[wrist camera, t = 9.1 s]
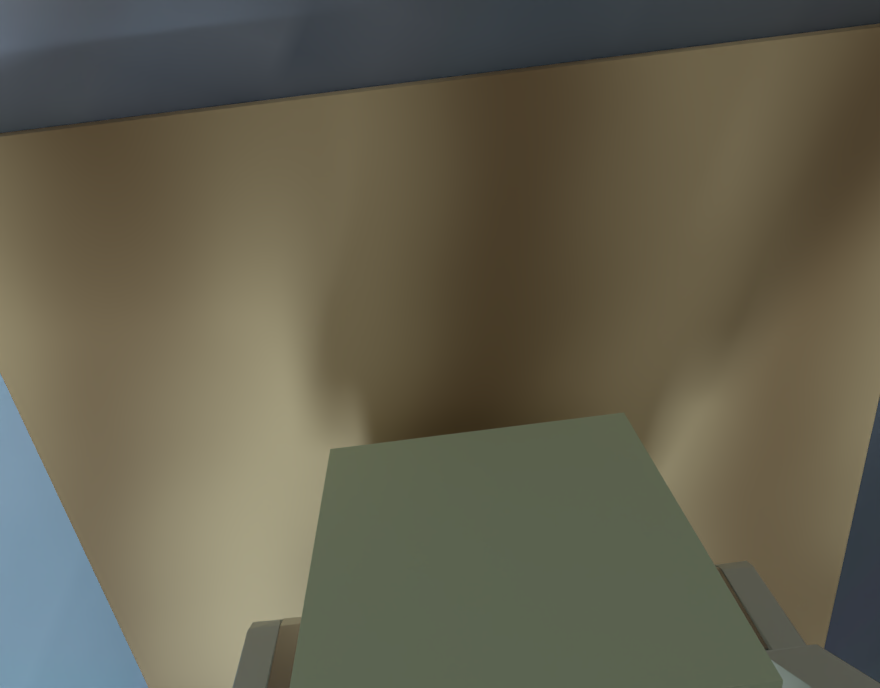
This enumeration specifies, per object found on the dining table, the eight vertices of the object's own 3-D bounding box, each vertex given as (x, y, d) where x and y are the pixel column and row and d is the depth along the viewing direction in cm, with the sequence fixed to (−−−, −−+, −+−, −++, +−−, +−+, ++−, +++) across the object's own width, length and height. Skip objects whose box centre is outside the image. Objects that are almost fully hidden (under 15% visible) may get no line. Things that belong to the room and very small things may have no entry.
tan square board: (923, 17, 10) (963, 16, 10) (793, 680, 17) (810, 708, 16) (-70, 141, 10) (-106, 149, 9) (203, 755, 17) (195, 786, 16)
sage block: (623, 412, 11) (782, 680, 6) (620, 620, 13) (736, 930, 8) (329, 449, 11) (279, 743, 6) (375, 651, 13) (363, 977, 8)
